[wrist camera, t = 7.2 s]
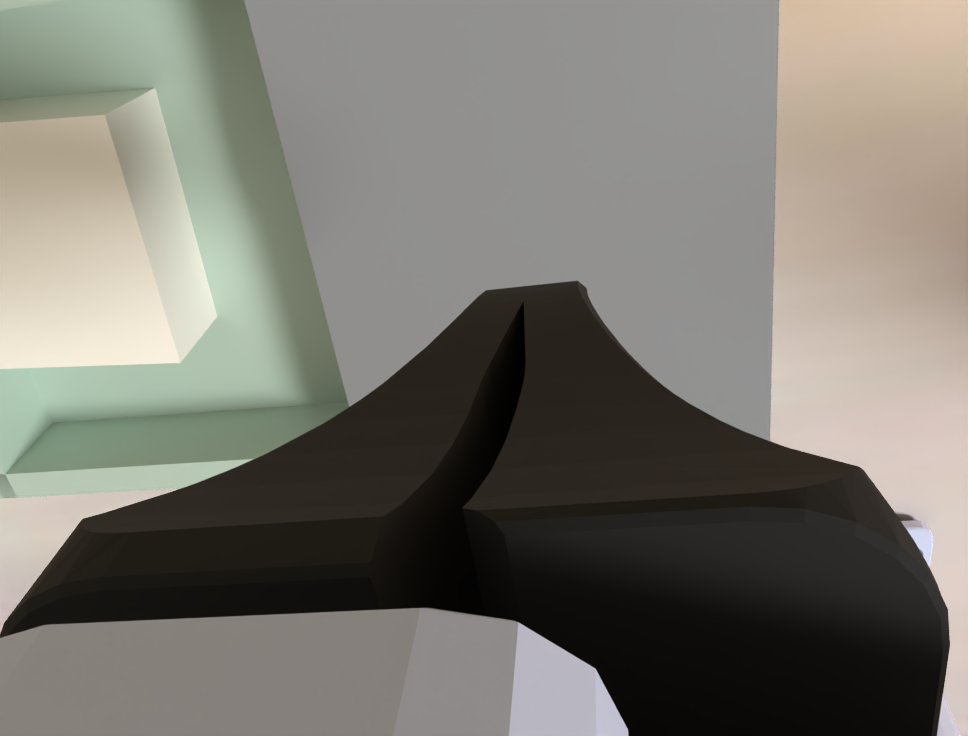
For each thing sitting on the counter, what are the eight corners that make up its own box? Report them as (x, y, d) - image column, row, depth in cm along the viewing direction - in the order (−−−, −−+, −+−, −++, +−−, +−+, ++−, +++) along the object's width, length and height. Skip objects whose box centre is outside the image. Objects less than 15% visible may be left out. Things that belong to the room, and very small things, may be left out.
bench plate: (749, 376, 23) (769, 441, 21) (387, 402, 25) (364, 465, 22) (752, -137, 18) (781, -136, 15) (278, -62, 19) (231, -49, 17)
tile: (-45, 370, 22) (11, 325, 24) (180, 363, 21) (217, 316, 23) (-152, 133, 19) (-78, 105, 21) (104, 114, 18) (154, 87, 21)
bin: (382, 414, 25) (359, 478, 23) (47, 437, 27) (-9, 499, 24) (265, -81, 19) (215, -71, 16) (-162, -12, 21) (-268, 8, 18)
